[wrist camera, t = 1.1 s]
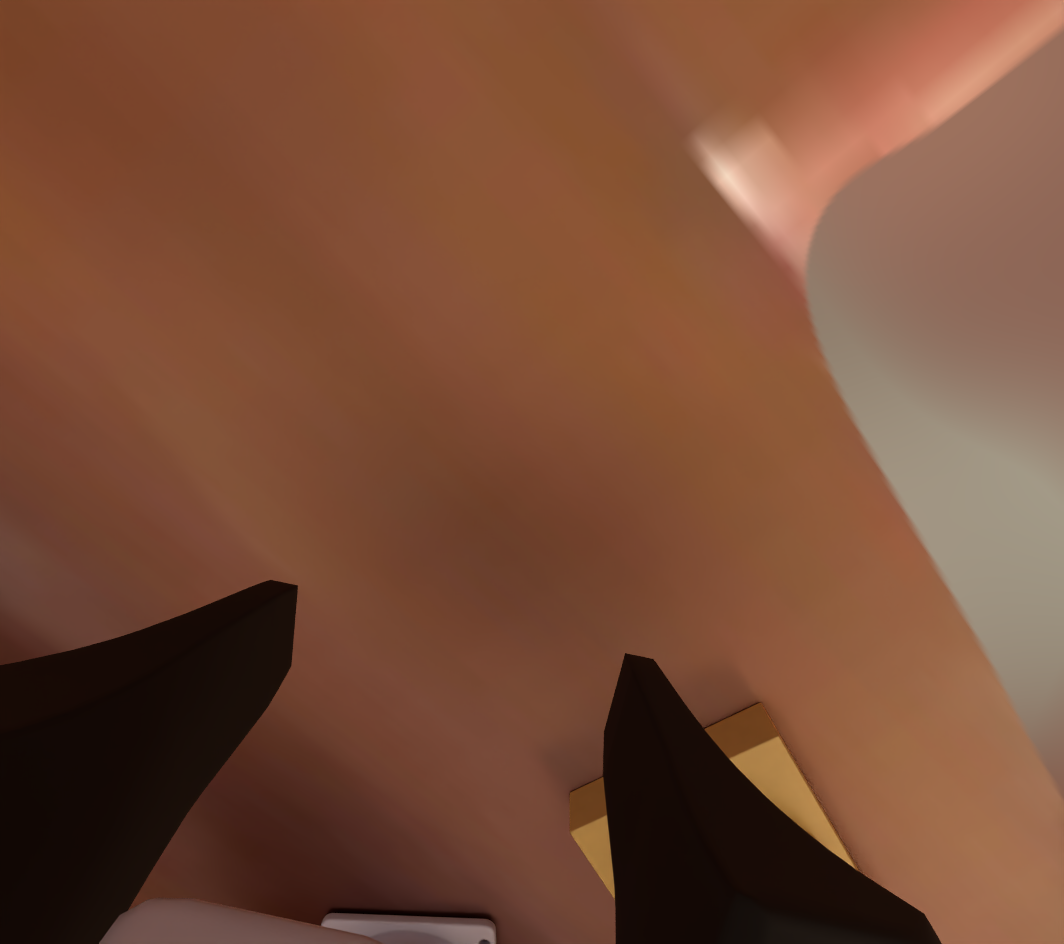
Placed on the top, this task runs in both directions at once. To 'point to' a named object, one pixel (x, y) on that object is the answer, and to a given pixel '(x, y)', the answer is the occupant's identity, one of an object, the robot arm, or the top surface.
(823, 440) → the top surface
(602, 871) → the plate
